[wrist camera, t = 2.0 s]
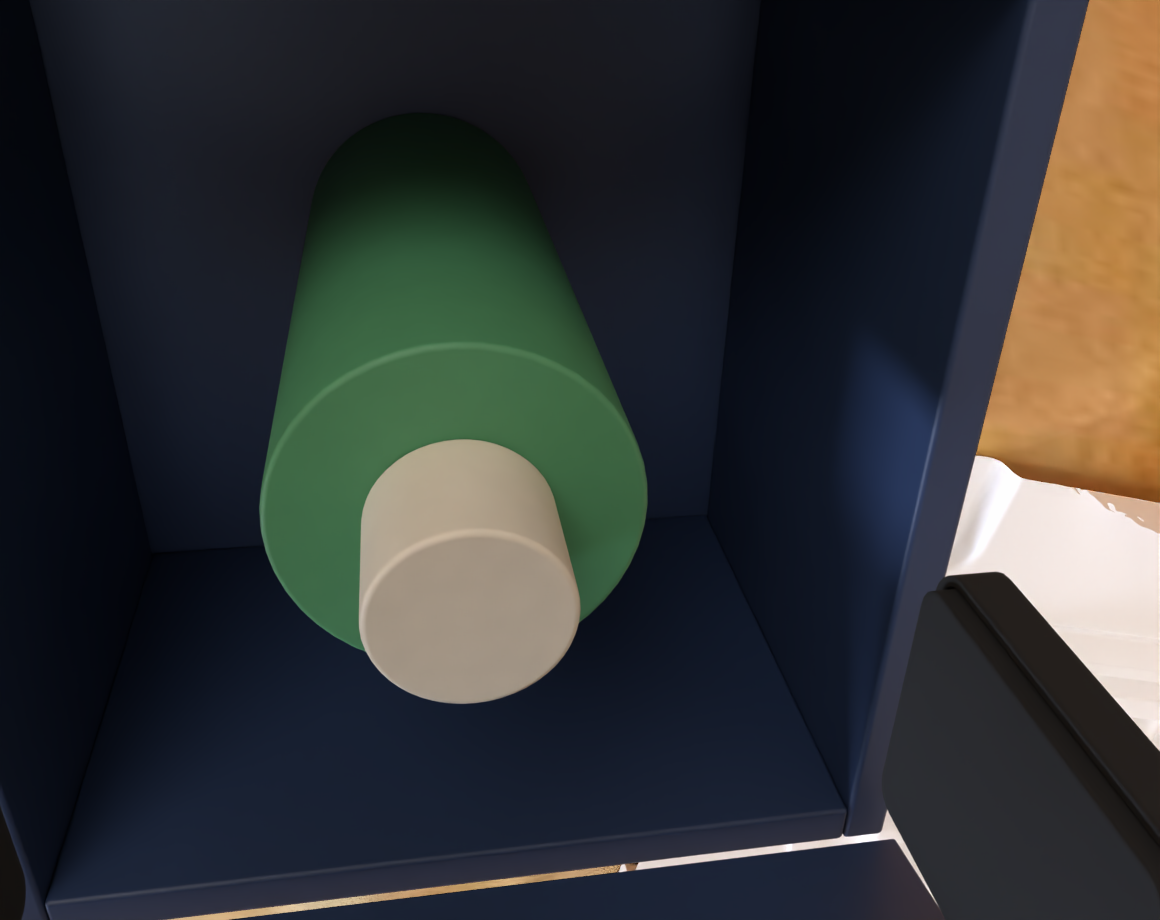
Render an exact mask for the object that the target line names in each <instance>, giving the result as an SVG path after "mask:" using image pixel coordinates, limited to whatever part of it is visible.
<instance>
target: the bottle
mask: <svg viewBox="0 0 1160 920" xmlns="http://www.w3.org/2000/svg"><path fill="white" fill-rule="evenodd" d="M647 505H648V495H647V478H646V472H645V466H644V461H643V458H642V455H641V452H640V449H639V446H638V443H637V441H636V438H635V436H634V433H633V431H632V429H631V426H630V424H629V422H628V419H627V417H626V415H625V412H624V410H623V407H622V405H621V403H620V400H619V398H618V396H617V393H616V391H615V388H614V386H613V384H612V381H611V379H610V377H609V374H608V372H607V370H606V367H605V365H604V362H603V360H602V358H601V355H600V353H599V351H598V348H597V346H596V344H595V341H594V339H593V336H592V334H591V332H590V329H589V327H588V325H587V322H586V320H585V317H584V315H583V313H582V310H581V308H580V306H579V303H578V301H577V299H576V296H575V294H574V291H573V289H572V287H571V284H570V282H569V280H568V277H567V275H566V273H565V270H564V268H563V265H562V263H561V261H560V258H559V256H558V254H557V251H556V249H555V247H554V244H553V242H552V239H551V237H550V235H549V232H548V230H547V228H546V225H545V223H544V220H543V218H542V216H541V213H540V211H539V209H538V206H537V204H536V202H535V199H534V197H533V194H532V192H531V190H530V187H529V185H528V183H527V181H526V179H525V177H524V175H523V173H522V171H521V169H520V167H519V166H518V164H517V163H516V162H515V160H514V159H513V157H512V156H511V155H510V154H509V153H508V152H507V150H506V149H505V148H504V147H503V146H502V145H501V144H499V143H498V142H497V141H496V140H495V139H494V138H493V137H491V136H490V135H488V134H487V133H485V132H484V131H482V130H481V129H479V128H477V127H475V126H473V125H471V124H469V123H467V122H465V121H462V120H459V119H456V118H453V117H449V116H444V115H439V114H430V113H412V114H402V115H398V116H393V117H389V118H386V119H383V120H380V121H377V122H375V123H373V124H371V125H369V126H367V127H365V128H363V129H361V130H360V131H358V132H357V133H356V134H354V135H353V136H351V137H350V138H349V139H348V140H347V141H346V142H344V143H343V144H342V145H341V146H340V147H339V148H338V149H337V150H336V152H335V153H334V154H333V156H332V157H331V158H330V159H329V161H328V162H327V164H326V166H325V167H324V169H323V171H322V173H321V175H320V177H319V180H318V182H317V185H316V187H315V191H314V195H313V199H312V204H311V210H310V215H309V221H308V226H307V232H306V238H305V243H304V249H303V254H302V260H301V266H300V271H299V277H298V283H297V288H296V294H295V299H294V305H293V311H292V316H291V322H290V328H289V333H288V339H287V344H286V350H285V356H284V361H283V367H282V373H281V378H280V384H279V389H278V395H277V401H276V406H275V412H274V418H273V423H272V429H271V434H270V440H269V446H268V451H267V457H266V463H265V468H264V474H263V479H262V485H261V494H260V505H259V513H260V527H261V534H262V538H263V542H264V546H265V551H266V554H267V556H268V558H269V561H270V563H271V566H272V568H273V571H274V572H275V574H276V576H277V577H278V579H279V581H280V582H281V584H282V586H283V587H284V589H285V591H286V592H287V593H288V595H289V596H290V597H291V598H292V599H293V601H294V602H295V603H296V604H297V606H298V607H299V608H300V609H301V610H302V611H303V612H304V613H305V614H306V615H307V616H308V617H310V618H311V619H312V620H313V621H314V622H315V623H316V624H317V625H319V626H320V627H322V628H323V629H324V630H326V631H327V632H329V633H330V634H331V635H333V636H334V637H336V638H338V639H340V640H342V641H344V642H345V643H347V644H349V645H351V646H353V647H355V648H358V649H360V650H363V651H365V652H366V653H367V654H368V656H369V658H370V660H371V661H372V662H373V664H374V665H375V666H376V667H377V669H378V670H379V671H380V672H381V673H382V674H383V675H384V676H385V677H386V678H387V679H388V680H389V681H391V682H392V683H394V684H395V685H396V686H398V687H399V688H401V689H403V690H405V691H407V692H409V693H411V694H414V695H416V696H419V697H421V698H425V699H429V700H432V701H437V702H444V703H455V704H468V703H479V702H486V701H491V700H495V699H499V698H503V697H506V696H508V695H511V694H514V693H516V692H518V691H521V690H523V689H525V688H527V687H528V686H530V685H532V684H533V683H535V682H537V681H538V680H540V679H541V678H542V677H544V676H545V675H546V674H547V673H549V672H550V671H551V670H552V669H553V668H554V667H555V666H556V665H557V664H558V662H559V661H560V660H561V659H562V658H563V656H564V655H565V653H566V652H567V650H568V649H569V647H570V645H571V643H572V641H573V638H574V636H575V634H576V631H577V627H578V624H579V622H581V621H582V620H583V619H584V618H586V617H587V616H588V615H590V614H591V613H592V612H593V611H594V610H595V609H596V608H597V607H598V606H599V605H600V604H601V603H602V602H603V601H604V600H605V599H606V598H607V596H608V595H609V594H610V593H611V592H612V590H613V589H614V588H615V587H616V585H617V584H618V583H619V581H620V580H621V578H622V577H623V575H624V573H625V572H626V570H627V569H628V567H629V565H630V563H631V561H632V559H633V556H634V554H635V552H636V550H637V548H638V545H639V542H640V538H641V535H642V532H643V528H644V525H645V519H646V512H647Z"/></svg>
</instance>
